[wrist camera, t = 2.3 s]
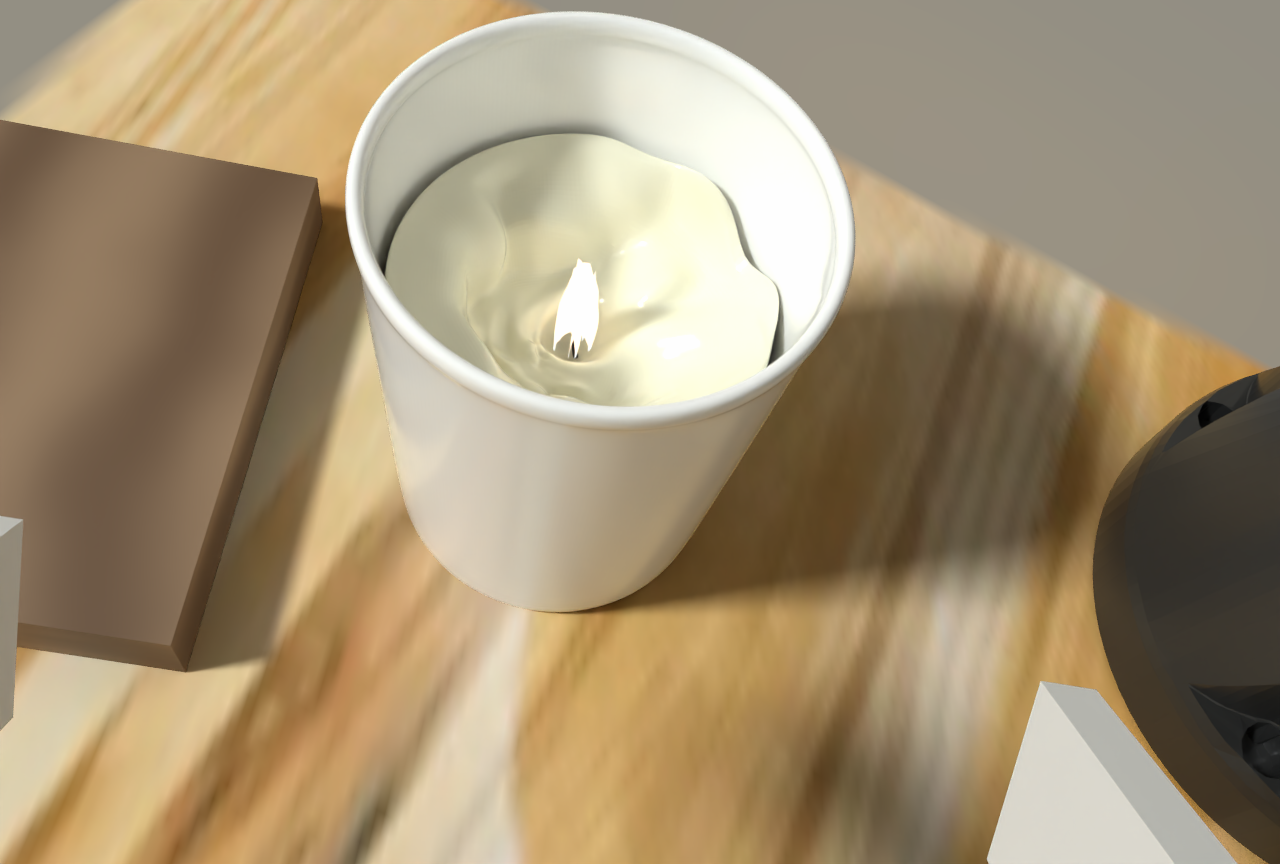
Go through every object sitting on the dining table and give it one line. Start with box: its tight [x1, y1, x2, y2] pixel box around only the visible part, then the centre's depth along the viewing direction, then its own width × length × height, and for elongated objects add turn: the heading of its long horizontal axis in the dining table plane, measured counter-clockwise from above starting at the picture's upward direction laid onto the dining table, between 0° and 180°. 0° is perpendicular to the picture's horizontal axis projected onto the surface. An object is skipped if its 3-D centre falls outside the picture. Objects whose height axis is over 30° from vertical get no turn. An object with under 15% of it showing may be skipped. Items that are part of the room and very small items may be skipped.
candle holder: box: [345, 12, 855, 612], centre depth 28 cm, size 10×10×12 cm
